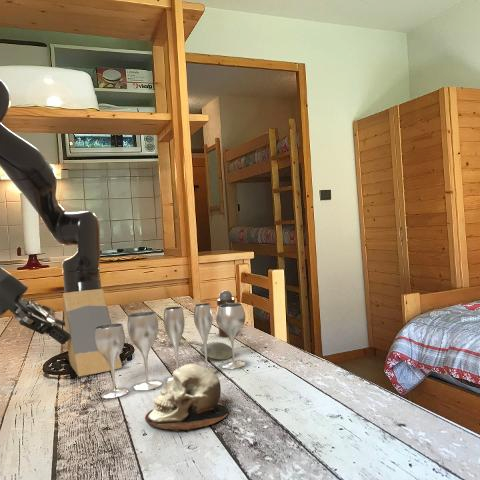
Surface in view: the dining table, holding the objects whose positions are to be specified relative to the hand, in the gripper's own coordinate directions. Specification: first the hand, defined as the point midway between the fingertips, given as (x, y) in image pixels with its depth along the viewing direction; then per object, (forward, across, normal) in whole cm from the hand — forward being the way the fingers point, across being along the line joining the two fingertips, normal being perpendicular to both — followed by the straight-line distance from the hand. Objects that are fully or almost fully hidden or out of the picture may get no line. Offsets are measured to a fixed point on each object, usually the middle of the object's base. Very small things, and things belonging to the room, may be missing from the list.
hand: (67, 340), depth 107 cm
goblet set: (+19, -20, -10) cm, 29 cm away
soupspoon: (+23, -2, -14) cm, 27 cm away
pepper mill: (+29, +10, -21) cm, 37 cm away
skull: (+18, -40, -10) cm, 45 cm away
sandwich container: (+8, 0, +1) cm, 8 cm away
